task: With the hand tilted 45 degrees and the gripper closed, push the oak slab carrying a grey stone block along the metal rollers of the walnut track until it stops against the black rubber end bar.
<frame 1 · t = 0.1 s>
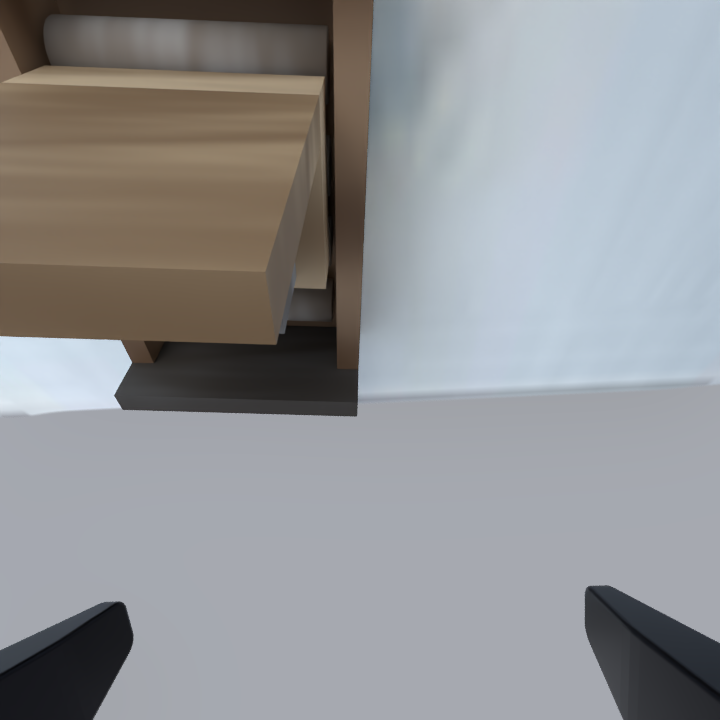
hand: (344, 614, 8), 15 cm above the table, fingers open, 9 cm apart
slab: (156, 256, 11), point 8 cm above the table, slide at 0.0 cm
roller track: (235, 186, 17), on the table
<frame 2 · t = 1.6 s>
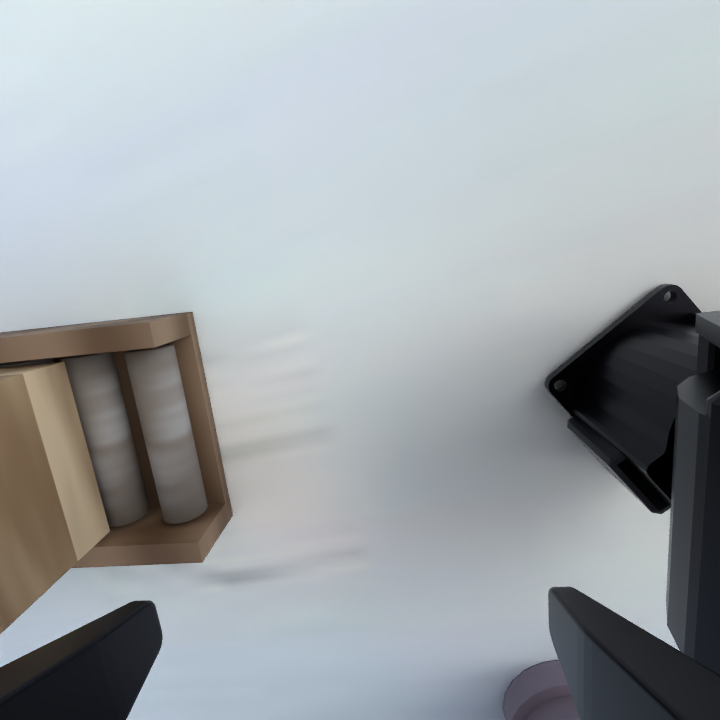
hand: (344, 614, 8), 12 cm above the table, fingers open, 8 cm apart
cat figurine: (561, 705, 23), on the table
roller track: (46, 432, 21), on the table
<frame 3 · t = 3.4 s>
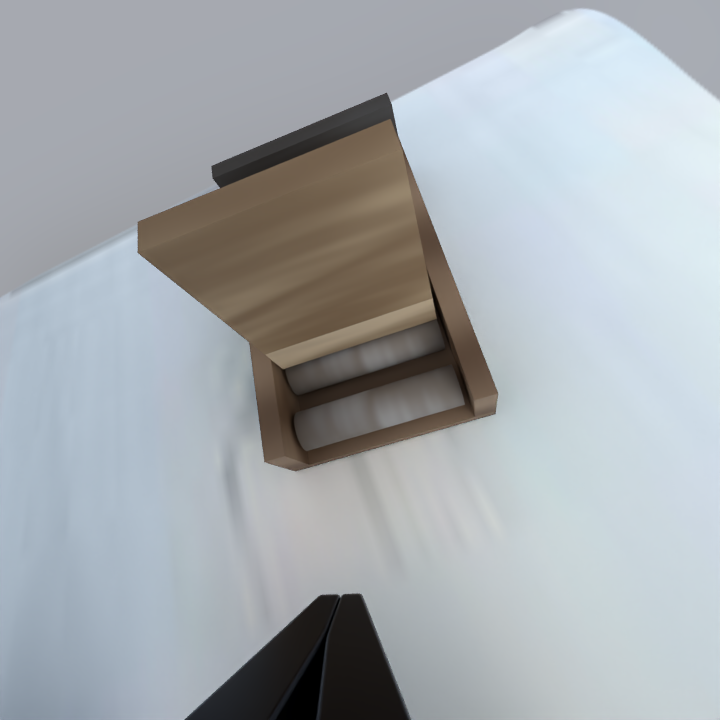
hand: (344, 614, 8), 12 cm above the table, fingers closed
slab: (310, 234, 17), point 8 cm above the table, slide at 0.0 cm
roller track: (353, 297, 25), on the table
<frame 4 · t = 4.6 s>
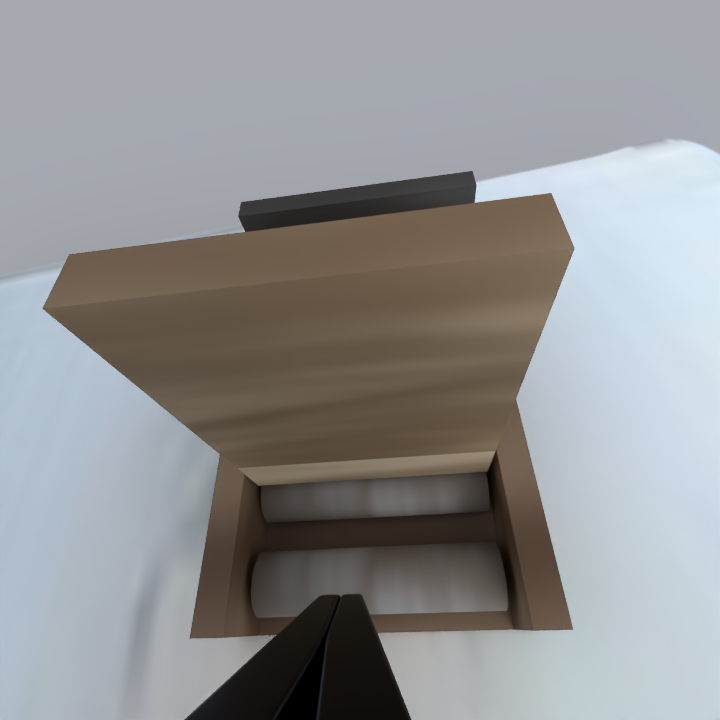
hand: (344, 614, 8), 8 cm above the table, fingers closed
slab: (345, 323, 12), point 8 cm above the table, slide at 0.0 cm
roller track: (373, 399, 19), on the table
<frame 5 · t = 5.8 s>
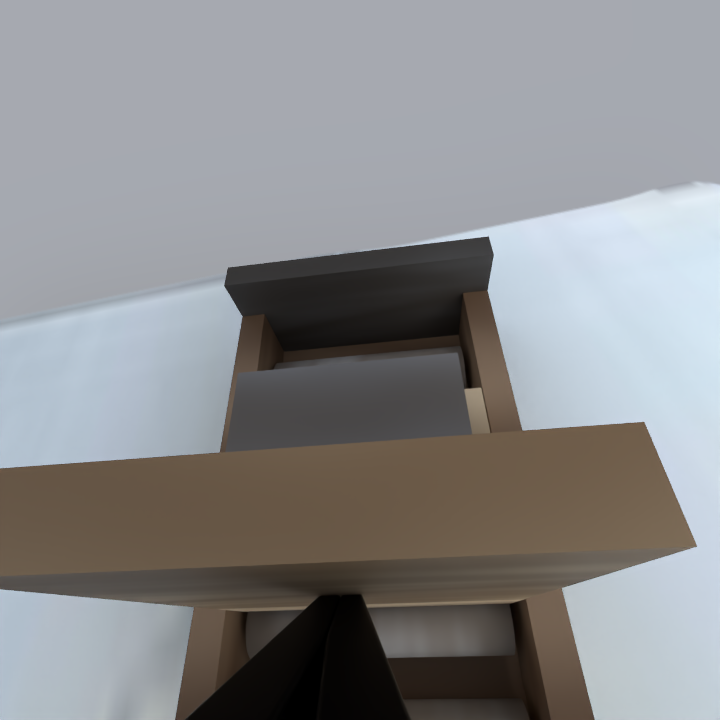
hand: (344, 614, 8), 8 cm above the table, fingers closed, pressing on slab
slab: (345, 451, 10), point 8 cm above the table, slide at 0.3 cm, touching gripper
roller track: (376, 490, 17), on the table
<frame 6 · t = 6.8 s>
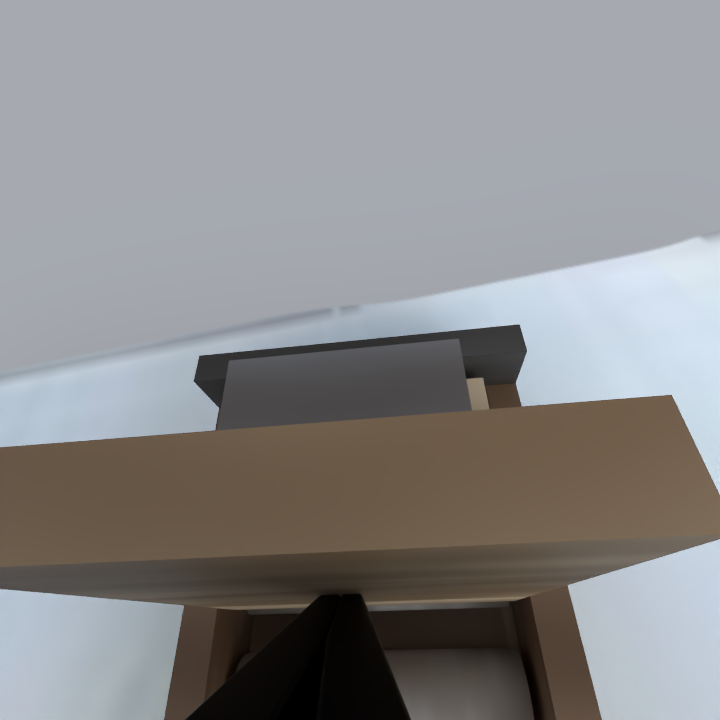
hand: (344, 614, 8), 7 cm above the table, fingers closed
slab: (340, 441, 9), point 8 cm above the table, slide at 5.1 cm, touching gripper
roller track: (380, 630, 14), on the table
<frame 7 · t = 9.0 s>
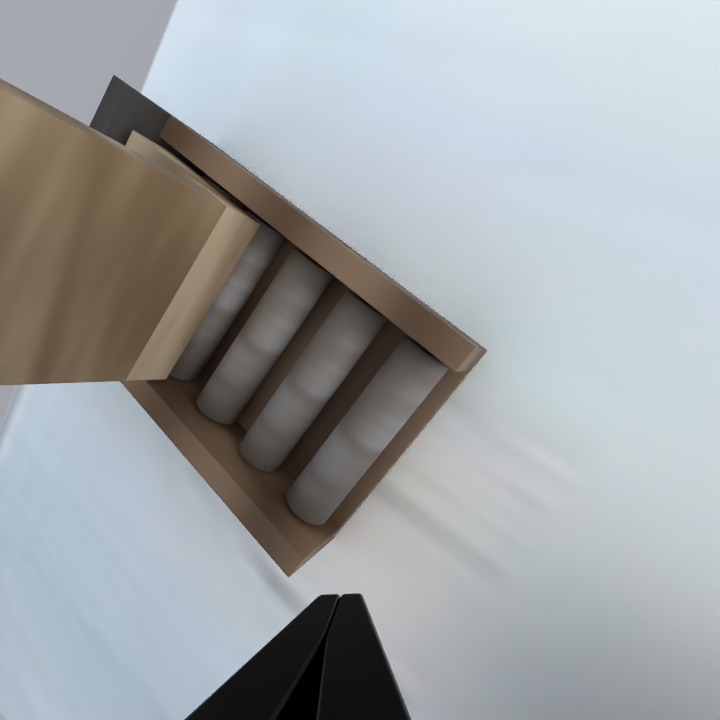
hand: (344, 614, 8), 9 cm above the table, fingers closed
slab: (48, 233, 14), point 8 cm above the table, slide at 5.2 cm
roller track: (261, 322, 20), on the table
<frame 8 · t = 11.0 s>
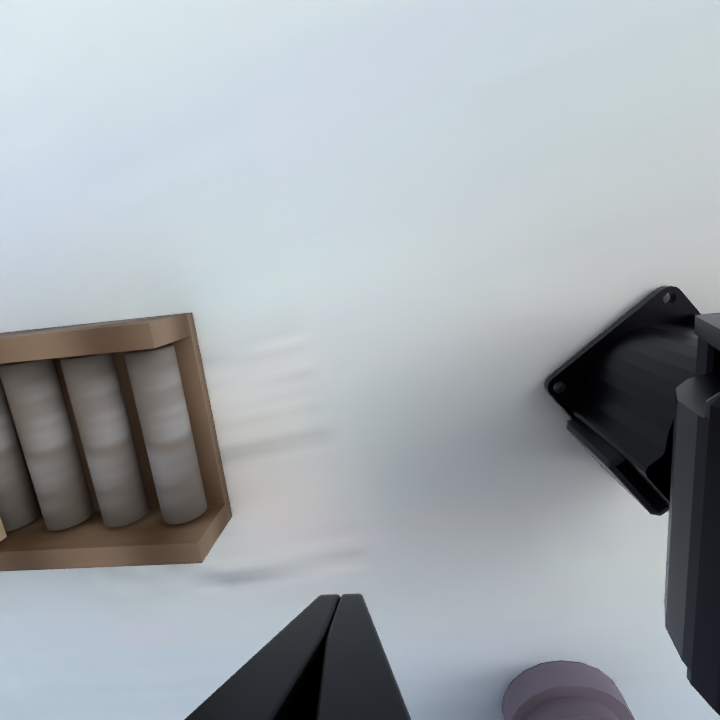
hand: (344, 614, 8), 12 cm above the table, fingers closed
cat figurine: (560, 706, 23), on the table
roller track: (46, 433, 21), on the table
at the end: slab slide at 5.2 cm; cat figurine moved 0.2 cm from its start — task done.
